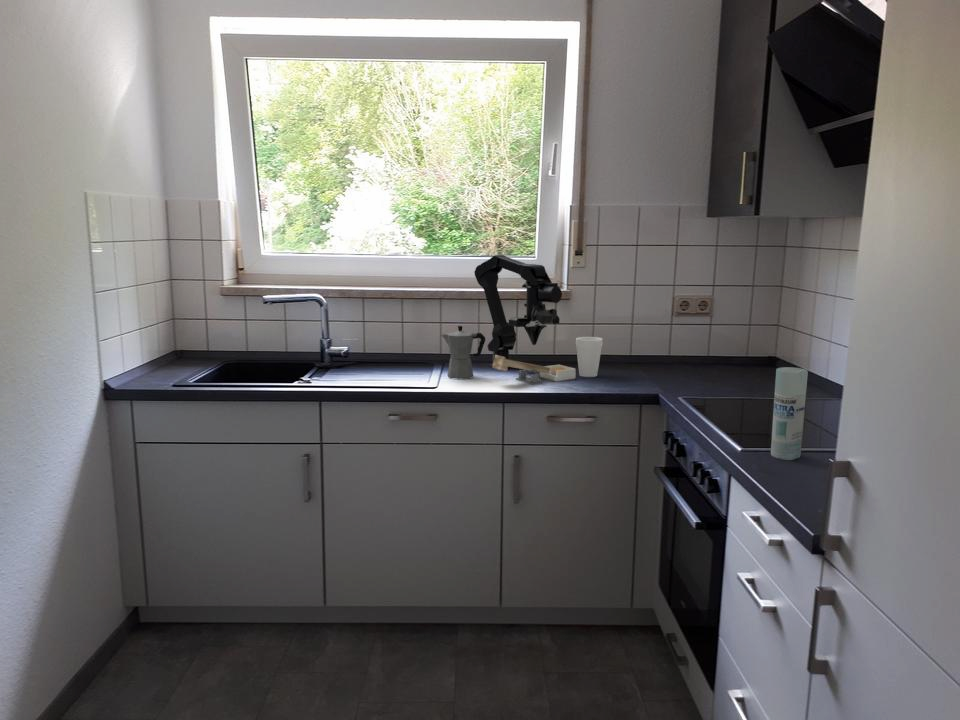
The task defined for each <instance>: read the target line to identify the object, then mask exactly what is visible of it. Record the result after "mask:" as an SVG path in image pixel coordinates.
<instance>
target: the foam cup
mask: <svg viewBox="0 0 960 720" xmlns="http://www.w3.org/2000/svg"><path fill="white" fill-rule="evenodd" d="M603 340H604V339H603V337H598V336H579V337H576V338H575V348H576V355H577V358H576V359H577V367H578V373H579V377H583V378H585V377H586V378H594V377H597V376H598V373H599V372H598V371H599V366H600V361H601V360H600V359H601V353H602V348H603Z"/></svg>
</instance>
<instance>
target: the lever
mask: <svg viewBox="0 0 960 720" xmlns="http://www.w3.org/2000/svg"><path fill="white" fill-rule="evenodd" d="M505 358H506V357H503V356H499V355H495V358H494V363H493V362H492V364H493V366H491V368H492V369H495V370H498V371H499V370H500V371H504V372H507V371H508V370H509V369H508V368H515V369H519V370H526V372H527V371H528V372H531V373H533V374H534V373H540V372H542V373H548V374H549V370H550V368H548V367H544V366H543V365H540V364H535V363H534V364H533V363H529V362H522V361H518V360H513V359H509V360H508V359H505ZM508 366H509V367H508Z"/></svg>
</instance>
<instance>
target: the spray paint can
mask: <svg viewBox="0 0 960 720" xmlns="http://www.w3.org/2000/svg"><path fill="white" fill-rule="evenodd" d="M808 374H809V371H808V370H807V369H806V368H800V367H792V366H791V367H789V366H788V367H787V366H785V367H784V366H783V367H782V366H781V367H777V368H776V370H775V383H774V396H773V397H774V398H773V413H772V414H773V415H772V426H771V427H772V428H771V429H772V430H771V442H770V443H771V445H770V455H771V457H772V458H776V459H779V460H783V461H784V460H785V461H796V460H799V459H800V457H801V454H802V444H803V443H802V442H803V432H804V422H805V421H804V419H805V409H806V408H805V407H806V398H807V385H808V384H807V383H808V377H809V375H808Z"/></svg>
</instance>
